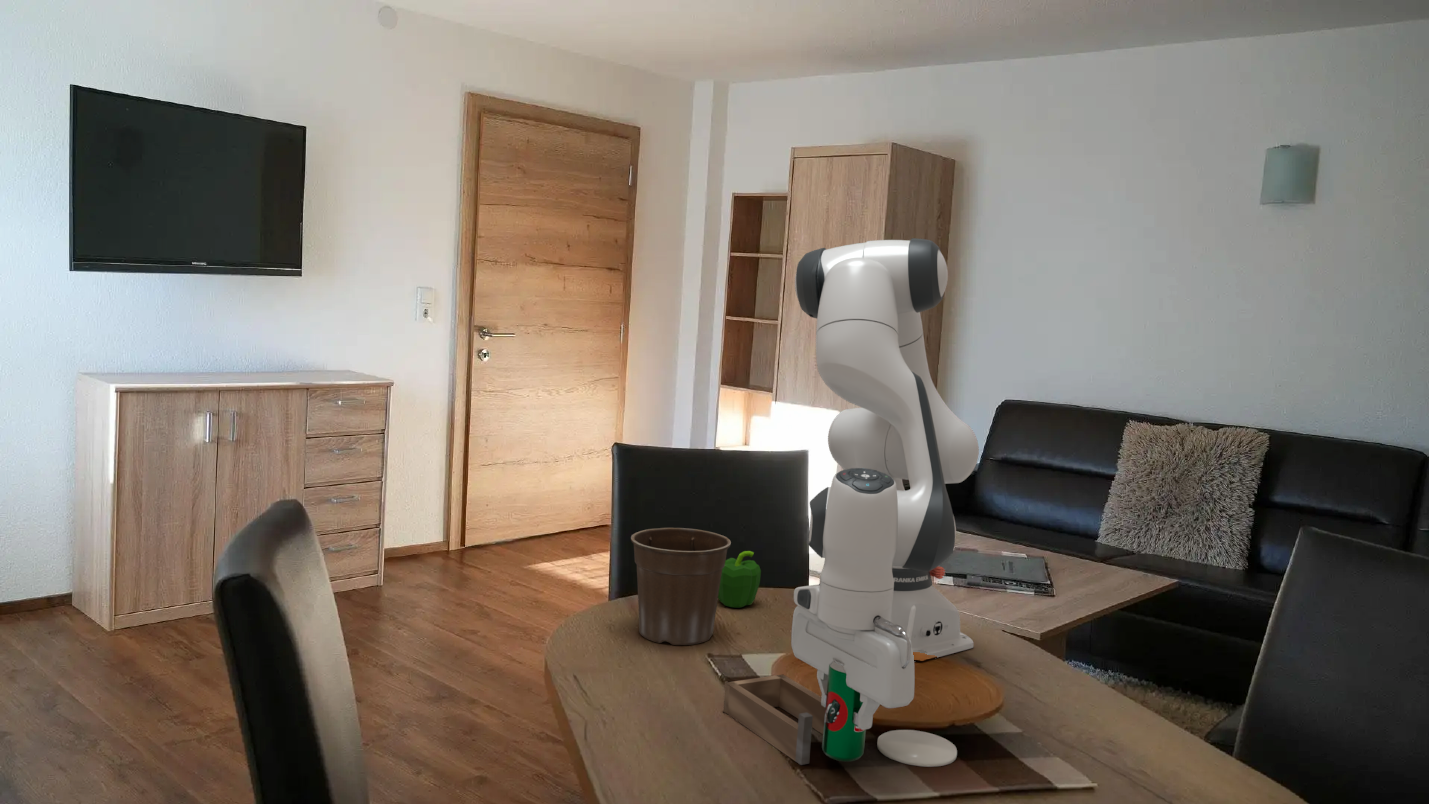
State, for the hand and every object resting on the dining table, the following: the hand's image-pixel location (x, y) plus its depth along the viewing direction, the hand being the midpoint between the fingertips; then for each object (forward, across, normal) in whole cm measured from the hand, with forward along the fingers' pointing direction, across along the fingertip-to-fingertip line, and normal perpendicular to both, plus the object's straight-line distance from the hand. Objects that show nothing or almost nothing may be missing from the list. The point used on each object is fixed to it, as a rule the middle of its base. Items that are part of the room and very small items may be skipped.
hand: (845, 717), depth 135 cm
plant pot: (+6, +52, -5) cm, 53 cm away
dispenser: (+6, +12, 0) cm, 14 cm away
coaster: (+6, 0, -12) cm, 14 cm away
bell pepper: (+6, +64, -24) cm, 69 cm away
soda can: (+5, 0, 0) cm, 5 cm away
